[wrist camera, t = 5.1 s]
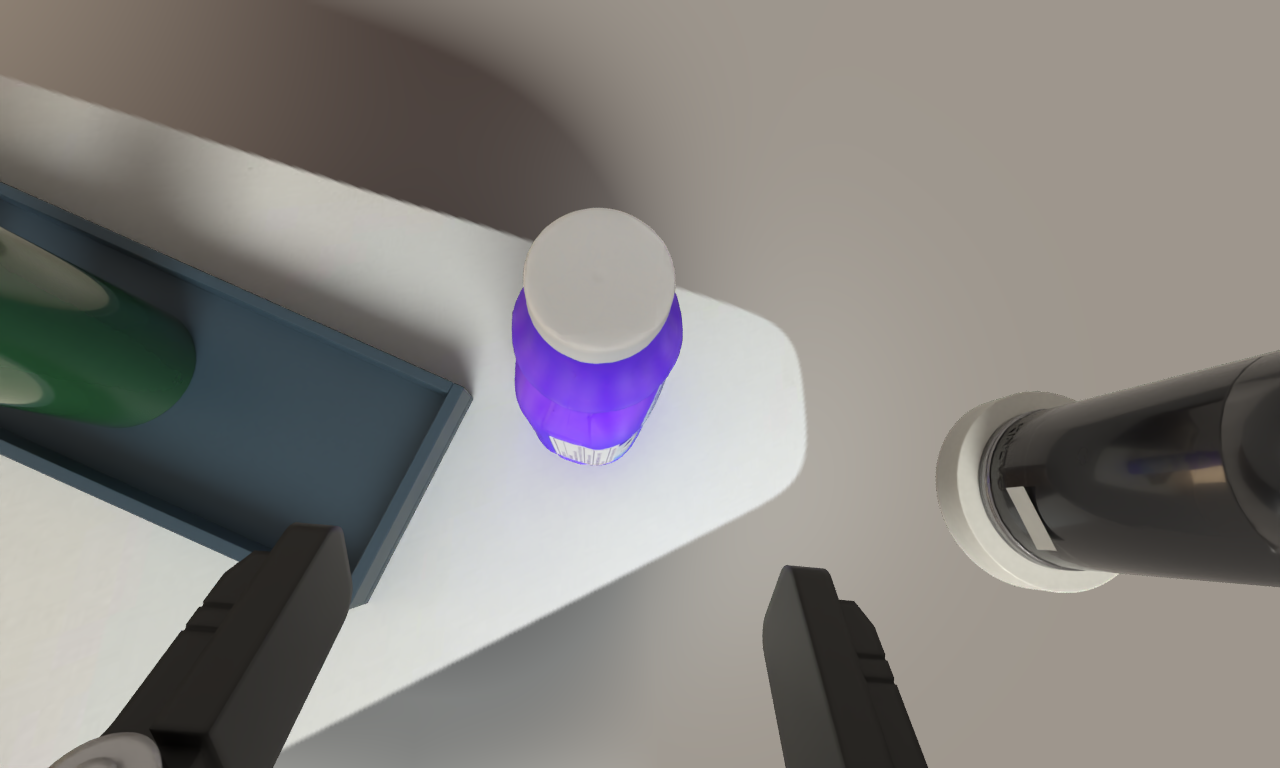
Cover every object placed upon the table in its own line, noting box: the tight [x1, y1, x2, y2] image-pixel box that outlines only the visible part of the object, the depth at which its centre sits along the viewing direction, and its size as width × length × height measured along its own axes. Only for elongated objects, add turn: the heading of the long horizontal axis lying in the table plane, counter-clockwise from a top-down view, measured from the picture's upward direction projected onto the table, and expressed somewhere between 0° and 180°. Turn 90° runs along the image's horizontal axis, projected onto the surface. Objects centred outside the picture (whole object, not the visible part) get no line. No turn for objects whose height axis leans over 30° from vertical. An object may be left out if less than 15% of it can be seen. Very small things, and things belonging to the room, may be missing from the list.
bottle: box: [512, 208, 683, 466], centre depth 24 cm, size 7×6×17 cm
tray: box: [0, 182, 473, 609], centre depth 30 cm, size 32×11×3 cm, turn 67°
